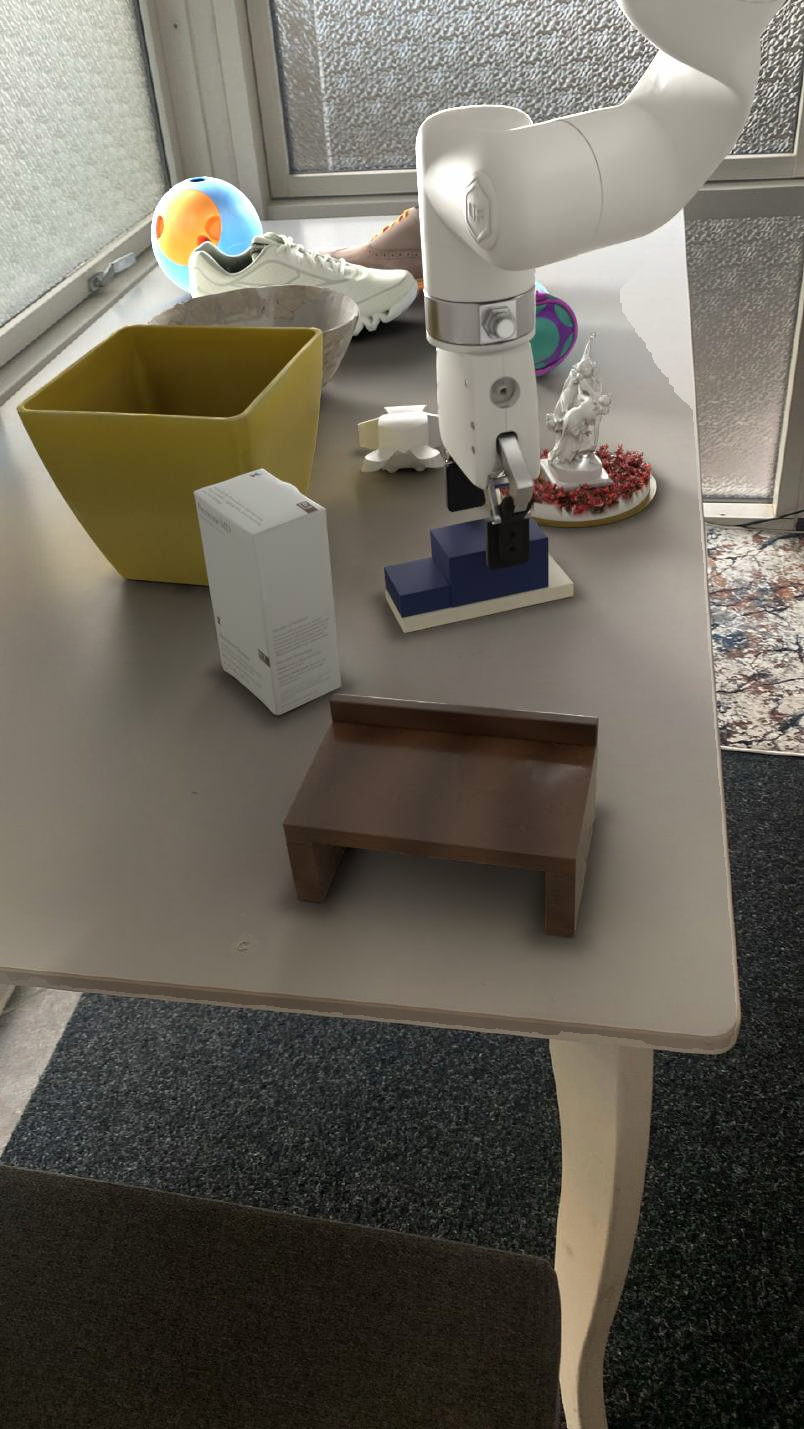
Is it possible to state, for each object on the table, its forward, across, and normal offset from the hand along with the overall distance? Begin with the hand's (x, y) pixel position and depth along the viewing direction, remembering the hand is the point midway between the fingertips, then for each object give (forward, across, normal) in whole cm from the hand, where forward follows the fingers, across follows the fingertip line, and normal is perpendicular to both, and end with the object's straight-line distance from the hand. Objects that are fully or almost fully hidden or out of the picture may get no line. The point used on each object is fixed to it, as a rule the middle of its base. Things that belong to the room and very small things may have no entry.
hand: (486, 535), depth 87 cm
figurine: (+6, +14, -13) cm, 20 cm away
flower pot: (+6, +16, +20) cm, 27 cm away
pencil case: (+6, +51, -22) cm, 56 cm away
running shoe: (+6, +71, 0) cm, 71 cm away
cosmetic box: (+6, -6, +18) cm, 19 cm away
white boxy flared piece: (+6, +26, -1) cm, 27 cm away
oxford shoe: (+6, +81, -16) cm, 83 cm away
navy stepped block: (+5, 0, +1) cm, 5 cm away
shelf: (+5, -28, +12) cm, 30 cm away
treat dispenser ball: (+7, +94, +9) cm, 95 cm away
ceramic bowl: (+6, +48, +10) cm, 50 cm away
